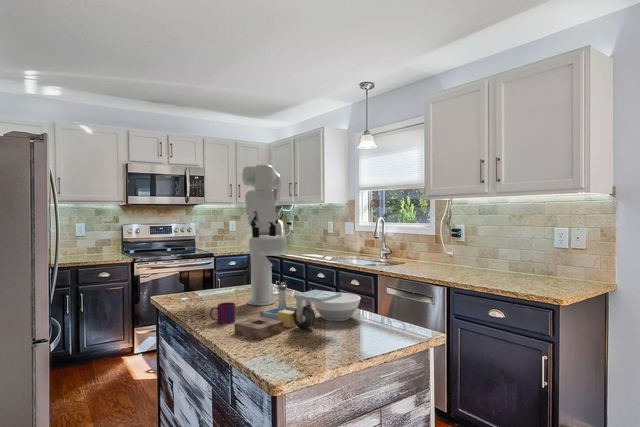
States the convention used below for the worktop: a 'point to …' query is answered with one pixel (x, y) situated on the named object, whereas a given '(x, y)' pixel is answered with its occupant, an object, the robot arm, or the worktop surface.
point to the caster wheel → (310, 306)
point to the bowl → (338, 307)
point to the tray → (274, 312)
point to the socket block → (258, 327)
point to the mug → (225, 313)
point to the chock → (286, 318)
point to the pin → (282, 297)
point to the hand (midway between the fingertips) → (264, 236)
